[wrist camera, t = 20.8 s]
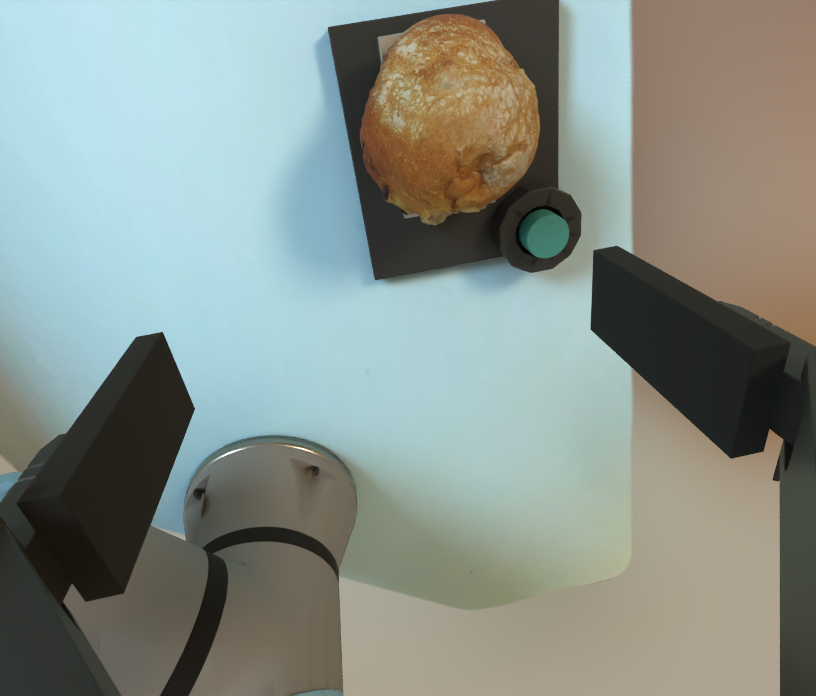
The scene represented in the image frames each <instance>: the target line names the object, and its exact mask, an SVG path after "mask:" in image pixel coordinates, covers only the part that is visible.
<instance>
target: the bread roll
mask: <svg viewBox="0 0 816 696" xmlns="http://www.w3.org/2000/svg"><path fill="white" fill-rule="evenodd" d="M539 133H540V120H539V114H538V99H537V95H536V90H535V85H534V84H533V83H532V82H531V81H530V80H529V78H528V77H527V75H526V74H525V71H524V69H520V68H519V65H518V63H517V62H516V61H515V60H514V59H513V56H512V55H511V54H510V53H509V52H508V51H507V50H506V49H505V48H504V46H503V45H502V43H501V41H500V40H499V38H498V36H497V35H496V34H495V33H494V32H493V31H492V30H491V29H490V28H489V27H488V26H487V25H485V24H484V23H482V22H480V21H478V20H477V19H475V18H472V17H469V16H465V15H461V14H442V15H437V16H433V17H429V18H426V19H424V20H421V21H419V22H417V23H416V24H414V25H412V26H411V27H410V28H409V29H407V30H406V31H405V32H404V33H402V34H401V35H400V36H399V37H398V38H397V40H396V42H395V44H394V45H392V46H391V47H390V48H389V49H388V52H387V57H386V58H385V59H384V60H383V62H382V63H381V68H380V72H379V74H378V76H377V79H376V81H375V86H373V87H372V89H371V90H370V91H369V99H368V101H367V103H366V106H365V113H364V115H363V118H362V126H361V130H360V141H361V145H362V148H363V160H364V165H365V167H366V169H367V172H368V173H369V174H370V175H371V177H372V178H373V180H374V181H375V182H376V183H377V184H378V186H379V187H380V189H381V190H382V191H383V195H382V197H383V200H385V201H386V202H389V203H392V204H394V205H396V206H398V207H399V208H400V211H401V212H402V213H403V214H405V215H410V216H411V215H412V214H414V213H416V214H419V216H420V219H421V221H422V222H423V223H425V224H429V225H430V224H431V225H434V226H435V225H437V224H439V223H442V222H444V220H445V219H446V217H447V216H449V215H451V214H453V213H454V214H457V213H459V212H467V213H471V212H479V211H480V210H481V209H484V208H485V207H486V205H488V204H489V203H491V202H493V201H495V200H496V199H498V198H500V197H501V196H503V195H504V194H505V193H506V192H507V191H508V190H510V189H511V188H512V187H513V186H514V185H515V184H516V183H517V182H518V181H519V180H520V179H521V178H522V177H523V176H524V174H525V173H526V172H527V170H528V168H529V166H530V165H531V163H532V161H533V159H534V156H535V153H536V149H537V147H538V139H539Z"/></svg>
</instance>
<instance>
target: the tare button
mask: <svg viewBox="0 0 816 696" xmlns="http://www.w3.org/2000/svg"><path fill="white" fill-rule="evenodd" d="M519 239H520V242H521V244H522V245H523V246H524V247H525V248H526V249H527V250H528V251H529V252H531V253H532V254H533V255H534V256H536V257H538V258H550V257H553V256H555V255H557V254H558V253H560V252H561V251H562V250H563V249H564V247H565V246H566V244H567V242H568V239H569V227H568V225H567V223H566V221H565V220H564V219H563V218H561V217H560V216H558V215H556V214H555V213H553V212H552V211H549V210H546V209H540V210H536V211H533V212H531V213H530V214H528V215H527V216H526V217H525V218H524V220H523V221H522V223H521V225H520V228H519Z"/></svg>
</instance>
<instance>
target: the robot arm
mask: <svg viewBox="0 0 816 696" xmlns="http://www.w3.org/2000/svg"><path fill="white" fill-rule="evenodd" d="M591 330H592V331H593V332H594V333H595V334H596V335H597V336H598V337H599V338H600V339H601V340H603V341H604V342H605V343H606V344H607V345H608V346H609V347H610V348H611V349H612V350H613V351H615V352H616V353H617V354H618V355H619V356H620V357H621V358H622V359H623V360H624V361H625V362H626V363H628V364H629V365H630V366H631V367H632V368H633V369H634V370H635V371H636V372H637V373H639V374H640V375H641V376H642V377H643V378H644V379H645V380H646V381H647V382H648V383H649V384H650V385H652V386H653V387H654V388H655V389H656V390H657V391H658V392H659V393H660V394H661V395H662V396H663V397H665V398H666V399H667V400H668V401H669V402H670V403H671V404H672V405H673V406H674V407H675V408H676V409H678V410H679V411H680V412H681V413H682V414H683V415H684V416H685V417H686V418H687V419H688V420H690V421H691V422H692V423H693V424H694V425H695V426H696V427H697V428H698V429H699V430H700V431H702V432H703V433H704V434H705V435H706V436H707V437H708V438H709V439H710V440H711V441H712V442H713V443H715V444H716V445H717V446H718V447H719V448H720V449H721V450H722V451H723V452H724V453H725V454H727V455H728V456H729V457H730V458H735V457H741V456H745V455H750V454H754V453H758V452H763V451H764V447H765V443H766V439H767V436H768V431H769V429H771V430H772V431H774V432H775V433H776V434H777V435H778V436H780V437H781V438H782V439H784V440H783V444H782V447H781V451H780V454H779V458H778V462H777V465H776V469H775V473H774V476H773V480H775V481H779V480H780V696H816V347H815V346H813V345H811V344H810V343H808V342H806V341H804V340H802V339H800V338H798V337H796V336H795V335H793V334H791V333H789V332H787V331H785V330H783V329H782V328H780V327H778V326H775V325H774V326H773V325H772V323H770V322H769V321H767V320H765V319H763V318H760V319H759V316H757V315H756V314H753V313H752V312H750V311H748V310H746V309H744V308H742V307H739V306H736V305H732V304H728V303H725V302H722V301H718V302H717V301H715V300H714V299H712V298H710V297H708V296H706V295H705V294H703V293H701V292H699V291H697V290H696V289H694V288H692V287H690V286H688V285H687V284H685V283H683V282H681V281H679V280H678V279H676V278H674V277H672V276H671V275H669V274H667V273H665V272H663V271H662V270H660V269H658V268H656V267H654V266H653V265H651V264H649V263H647V262H645V261H644V260H642V259H640V258H638V257H636V256H635V255H633V254H631V253H629V252H627V251H626V250H624V249H622V248H620V247H618V246H614V247H609V248H603V249H598V250H594V253H593V280H592V307H591ZM194 410H195V408H194V405H193V403H192V401H191V398H190V396H189V394H188V391H187V389H186V386H185V384H184V382H183V379H182V377H181V374H180V372H179V370H178V367H177V365H176V362H175V360H174V358H173V355H172V353H171V351H170V348H169V346H168V343H167V341H166V339H165V336H164V334H163V332H160V333H155V334H150V335H145V336H139V337H136V338H135V339H134V341H133V342H132V343H131V345H130V346H129V348H128V349H127V350H126V352H125V353H124V355H123V356H122V357H121V359H120V360H119V361H118V363H117V364H116V366H115V367H114V368H113V370H112V371H111V373H110V374H109V375H108V377H107V378H106V379H105V381H104V382H103V384H102V385H101V386H100V388H99V389H98V391H97V392H96V393H95V395H94V396H93V397H92V399H91V400H90V402H89V403H88V404H87V406H86V407H85V409H84V410H83V411H82V413H81V414H80V416H79V417H78V418H77V420H76V421H75V422H74V424H73V425H72V427H71V428H70V429H69V431H68V432H67V433H66V434H61V435H58V436H57V437H56V438H55V439H53V440H52V441H51V442H50V443H48V444H47V445H46V446H45V447H43V448H42V449H41V450H40V451H39V452H38V453H37V455H36V456H35V457H34V459H33V460H32V461H31V463H30V464H29V465H28V469H25V470H24V472H13V473H7V474H3V475H0V696H344V695H343V678H342V677H343V675H342V650H341V624H340V601H339V600H340V599H339V567H340V564H341V561H342V558H343V556H344V553H345V550H346V547H347V544H348V541H349V539H350V536H351V533H352V530H353V527H354V524H355V519H356V512H357V497H356V487H355V483H354V480H353V478H352V476H351V473H350V472H349V470H348V469H347V467H346V466H345V465H344V464H343V462H342V461H341V460H340V459H339V458H338V457H336V456H335V455H334V454H333V453H331V452H330V451H328V450H327V449H325V448H323V447H321V446H319V445H317V444H315V443H312V442H309V441H306V440H303V439H299V438H295V437H288V436H258V437H252V438H247V439H243V440H240V441H237V442H234V443H231V444H229V445H227V446H225V447H223V448H221V449H219V450H217V451H216V452H214V453H213V454H211V455H210V456H209V457H208V458H207V459H206V460H205V461H204V462H203V463H202V464H201V465H200V466H199V467H198V469H197V470H196V471H195V473H194V475H193V477H192V479H191V481H190V484H189V487H188V490H187V493H186V497H185V502H184V511H183V519H184V528H185V537H186V541H184V540H182V539H180V538H177V537H175V536H173V535H170V534H168V533H166V532H164V531H162V530H159V529H157V528H155V527H153V526H150V525H151V522H152V519H153V517H154V514H155V512H156V509H157V506H158V504H159V501H160V499H161V496H162V493H163V491H164V488H165V486H166V483H167V480H168V478H169V475H170V472H171V470H172V467H173V465H174V462H175V459H176V457H177V454H178V452H179V449H180V446H181V444H182V441H183V439H184V436H185V433H186V431H187V428H188V426H189V423H190V420H191V418H192V415H193V413H194Z"/></svg>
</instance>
